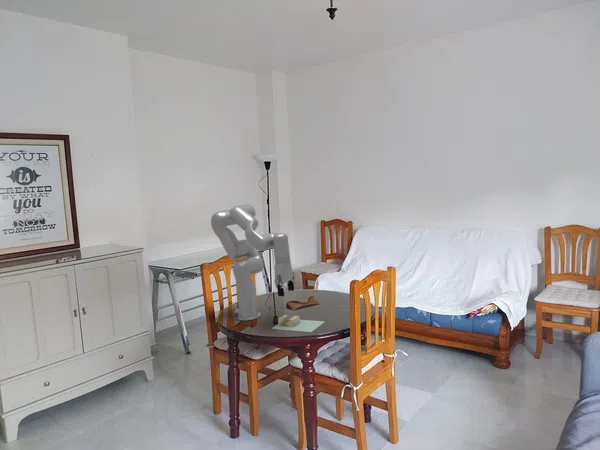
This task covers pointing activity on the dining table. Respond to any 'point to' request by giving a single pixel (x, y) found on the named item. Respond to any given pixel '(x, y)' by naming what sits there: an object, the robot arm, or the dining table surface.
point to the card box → (289, 320)
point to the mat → (302, 326)
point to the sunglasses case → (301, 303)
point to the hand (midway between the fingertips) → (286, 293)
